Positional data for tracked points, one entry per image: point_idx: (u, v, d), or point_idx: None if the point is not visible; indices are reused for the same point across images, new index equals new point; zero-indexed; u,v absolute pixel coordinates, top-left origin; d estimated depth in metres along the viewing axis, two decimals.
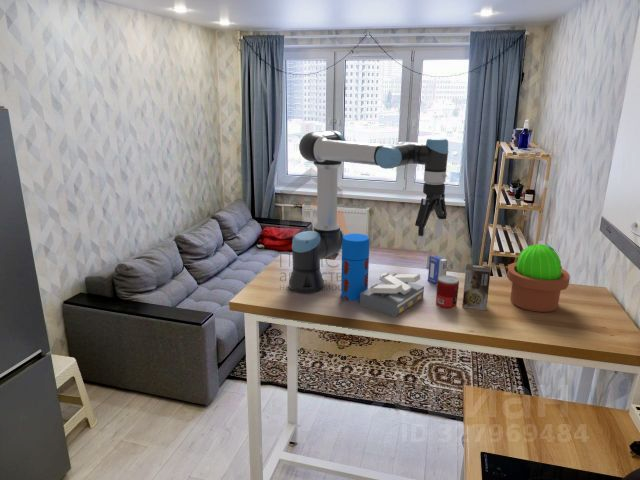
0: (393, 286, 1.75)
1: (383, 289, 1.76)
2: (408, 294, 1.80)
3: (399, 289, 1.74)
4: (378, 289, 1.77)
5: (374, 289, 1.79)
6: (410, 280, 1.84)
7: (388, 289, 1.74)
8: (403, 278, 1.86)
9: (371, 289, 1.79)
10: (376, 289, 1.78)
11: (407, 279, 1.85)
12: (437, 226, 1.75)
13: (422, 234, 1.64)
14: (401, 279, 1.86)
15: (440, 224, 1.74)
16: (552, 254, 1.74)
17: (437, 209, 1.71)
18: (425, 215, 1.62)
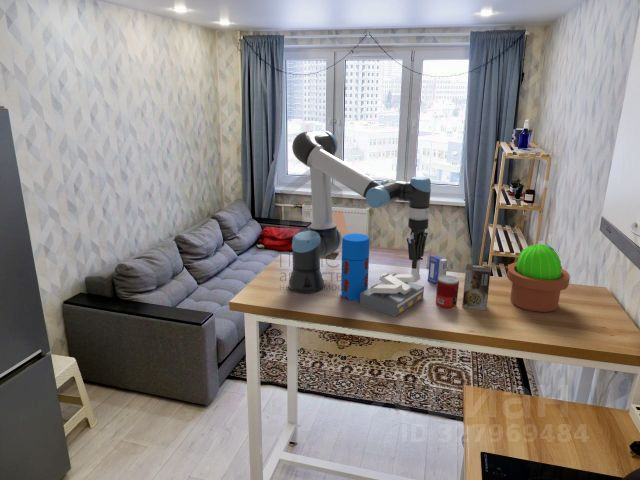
0: (393, 286, 1.75)
1: (383, 289, 1.76)
2: (408, 294, 1.80)
3: (399, 289, 1.74)
4: (378, 289, 1.77)
5: (374, 289, 1.79)
6: (410, 280, 1.84)
7: (388, 289, 1.74)
8: (403, 278, 1.86)
9: (371, 289, 1.79)
10: (376, 289, 1.78)
11: (407, 279, 1.85)
12: None
13: (415, 267, 1.82)
14: (401, 279, 1.86)
15: None
16: (552, 254, 1.74)
17: None
18: (415, 250, 1.78)
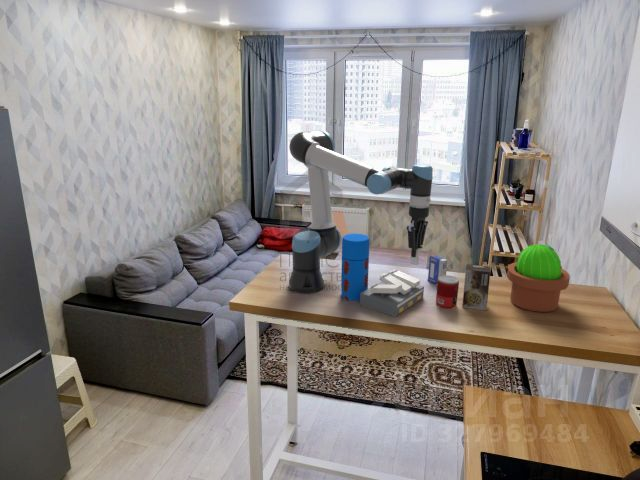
0: (393, 286, 1.75)
1: (383, 289, 1.76)
2: (408, 294, 1.80)
3: (399, 289, 1.74)
4: (378, 289, 1.77)
5: (374, 289, 1.79)
6: (410, 284, 1.84)
7: (388, 289, 1.74)
8: (403, 279, 1.86)
9: (371, 289, 1.79)
10: (376, 289, 1.78)
11: (407, 282, 1.85)
12: None
13: (415, 255, 1.81)
14: (401, 279, 1.86)
15: None
16: (552, 254, 1.74)
17: None
18: (415, 239, 1.77)
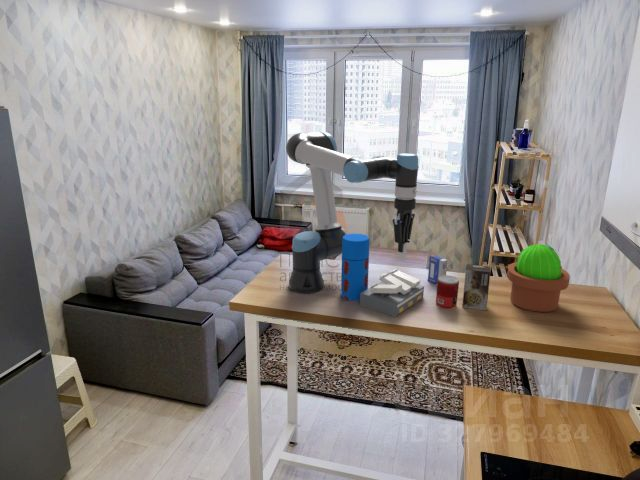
0: (393, 286, 1.75)
1: (383, 289, 1.76)
2: (408, 294, 1.80)
3: (399, 289, 1.74)
4: (378, 289, 1.77)
5: (374, 289, 1.79)
6: (410, 284, 1.84)
7: (388, 289, 1.74)
8: (404, 279, 1.86)
9: (371, 289, 1.79)
10: (376, 289, 1.78)
11: (407, 282, 1.85)
12: None
13: (402, 250, 1.71)
14: (401, 279, 1.86)
15: None
16: (552, 254, 1.74)
17: (404, 227, 1.70)
18: (401, 232, 1.67)
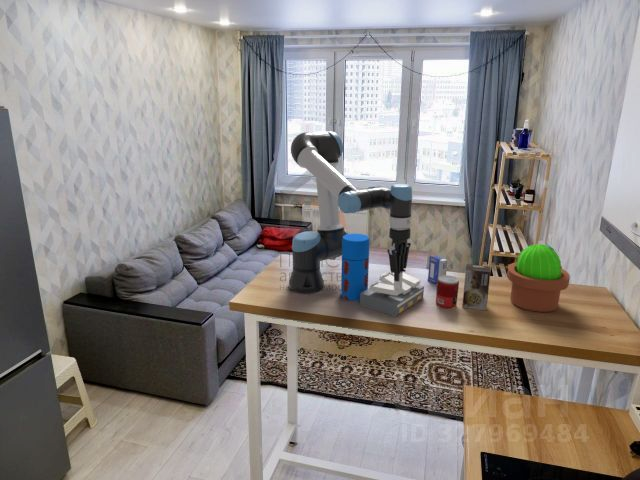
0: None
1: (383, 289, 1.76)
2: (408, 294, 1.80)
3: (399, 291, 1.74)
4: (378, 288, 1.77)
5: (374, 288, 1.78)
6: (410, 284, 1.84)
7: (388, 290, 1.74)
8: (404, 279, 1.86)
9: (371, 287, 1.79)
10: (376, 288, 1.78)
11: (407, 282, 1.85)
12: None
13: (398, 279, 1.72)
14: None
15: None
16: (552, 254, 1.74)
17: None
18: (396, 262, 1.67)
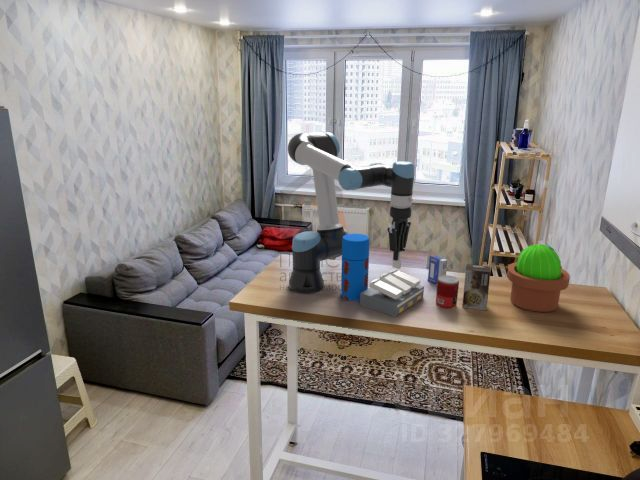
0: (394, 290, 1.75)
1: (383, 290, 1.76)
2: (408, 294, 1.80)
3: (399, 295, 1.75)
4: (378, 287, 1.77)
5: (374, 285, 1.78)
6: (410, 284, 1.84)
7: (388, 292, 1.74)
8: (404, 279, 1.86)
9: (371, 284, 1.79)
10: (376, 286, 1.77)
11: (407, 282, 1.85)
12: None
13: (397, 259, 1.70)
14: (401, 279, 1.86)
15: None
16: (552, 254, 1.74)
17: None
18: (396, 241, 1.66)
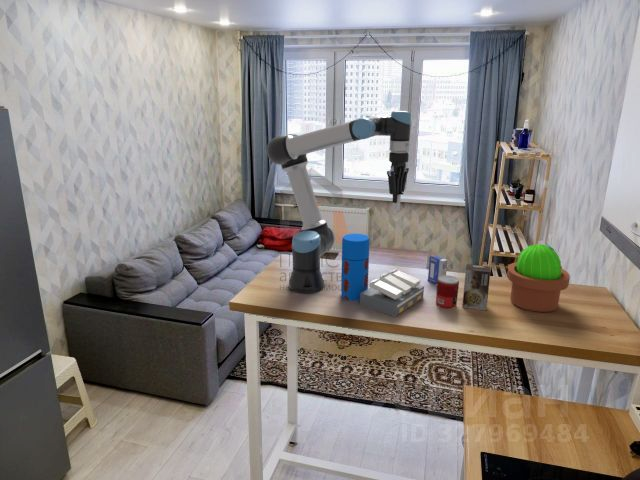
0: (394, 290, 1.75)
1: (383, 290, 1.76)
2: (408, 294, 1.80)
3: (399, 295, 1.75)
4: (378, 287, 1.77)
5: (374, 285, 1.78)
6: (410, 284, 1.84)
7: (388, 292, 1.74)
8: (404, 279, 1.86)
9: (371, 284, 1.79)
10: (376, 286, 1.77)
11: (407, 282, 1.85)
12: None
13: (396, 201, 1.86)
14: (401, 279, 1.86)
15: None
16: (552, 254, 1.74)
17: (398, 180, 1.86)
18: (395, 183, 1.82)
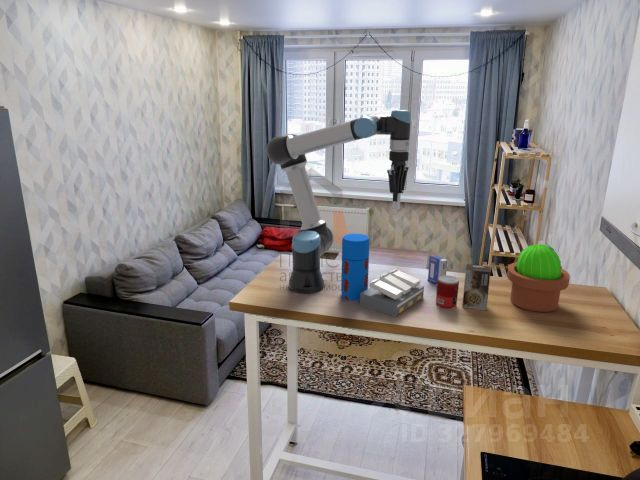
0: (394, 290, 1.75)
1: (383, 290, 1.76)
2: (408, 294, 1.80)
3: (399, 295, 1.75)
4: (378, 287, 1.77)
5: (374, 285, 1.78)
6: (410, 284, 1.84)
7: (388, 292, 1.74)
8: (404, 279, 1.86)
9: (371, 284, 1.79)
10: (376, 286, 1.77)
11: (407, 282, 1.85)
12: None
13: (396, 200, 1.87)
14: (401, 279, 1.86)
15: None
16: (552, 254, 1.74)
17: (398, 179, 1.87)
18: (395, 182, 1.83)
